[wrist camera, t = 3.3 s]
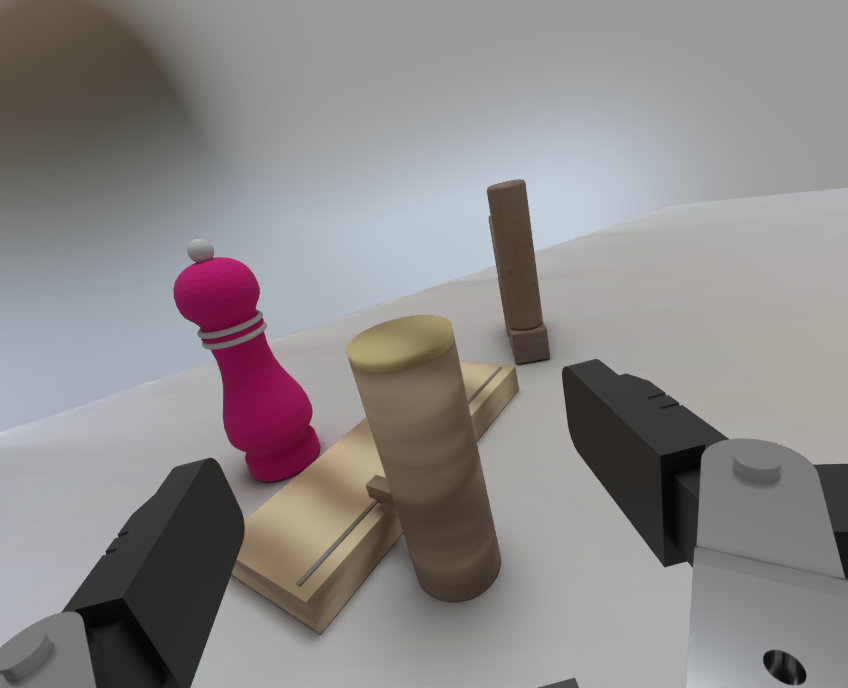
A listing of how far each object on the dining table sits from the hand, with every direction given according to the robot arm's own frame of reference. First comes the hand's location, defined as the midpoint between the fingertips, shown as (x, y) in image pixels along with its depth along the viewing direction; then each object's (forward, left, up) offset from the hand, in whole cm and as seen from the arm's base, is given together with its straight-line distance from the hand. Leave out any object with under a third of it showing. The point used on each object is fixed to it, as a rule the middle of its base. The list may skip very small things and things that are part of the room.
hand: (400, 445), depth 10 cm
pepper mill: (+11, +27, -16) cm, 33 cm away
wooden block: (+37, +15, -16) cm, 43 cm away
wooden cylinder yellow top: (+8, +8, -16) cm, 20 cm away
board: (+14, +16, -16) cm, 27 cm away
